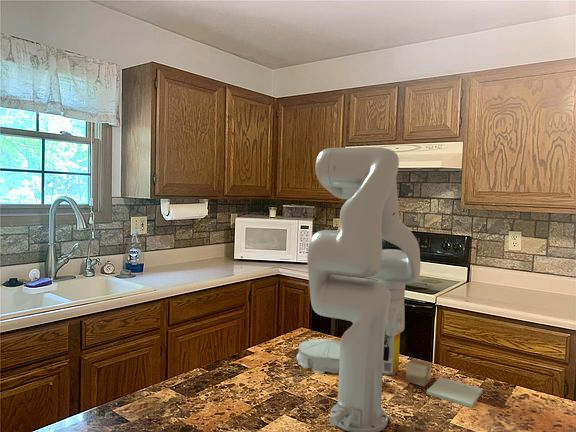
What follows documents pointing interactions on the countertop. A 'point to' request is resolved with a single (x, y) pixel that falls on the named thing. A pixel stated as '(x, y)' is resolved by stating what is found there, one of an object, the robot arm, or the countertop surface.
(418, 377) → the maple block
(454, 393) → the sage mat
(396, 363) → the beer can
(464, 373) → the countertop surface
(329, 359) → the food container
